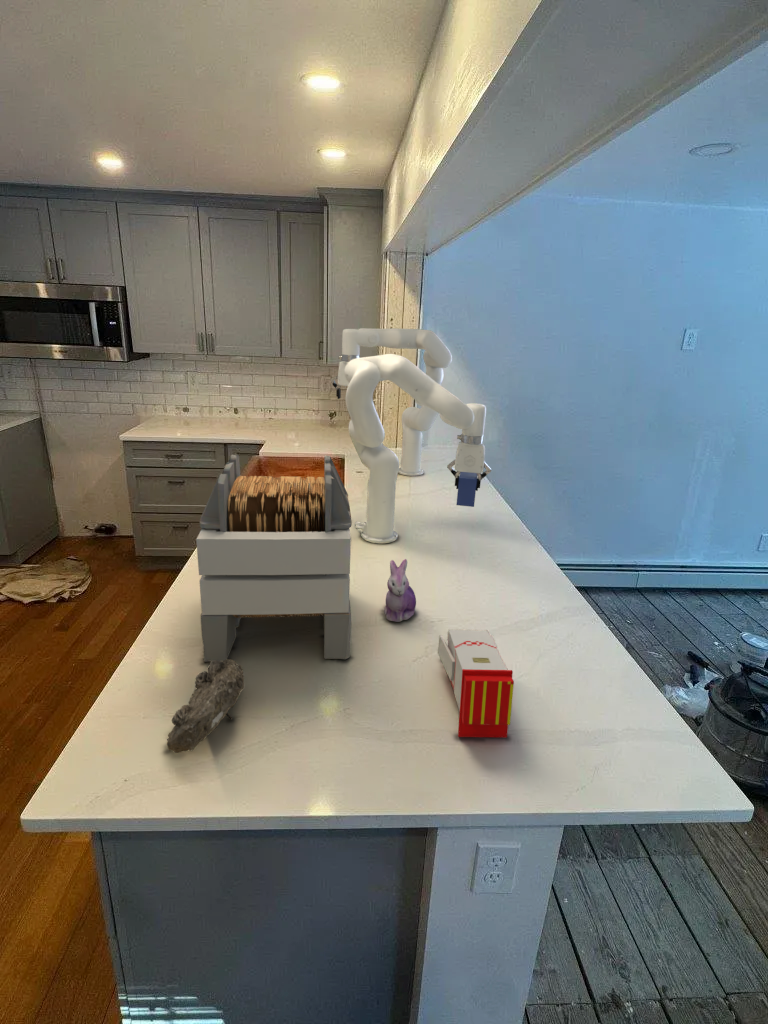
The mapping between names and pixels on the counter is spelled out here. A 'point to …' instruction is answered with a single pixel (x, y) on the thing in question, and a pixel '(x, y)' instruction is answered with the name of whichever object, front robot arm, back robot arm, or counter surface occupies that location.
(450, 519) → the counter surface
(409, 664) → the counter surface
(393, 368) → the front robot arm
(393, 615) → the figurine
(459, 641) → the toy
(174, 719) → the fossil
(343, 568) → the record crate
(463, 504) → the block
